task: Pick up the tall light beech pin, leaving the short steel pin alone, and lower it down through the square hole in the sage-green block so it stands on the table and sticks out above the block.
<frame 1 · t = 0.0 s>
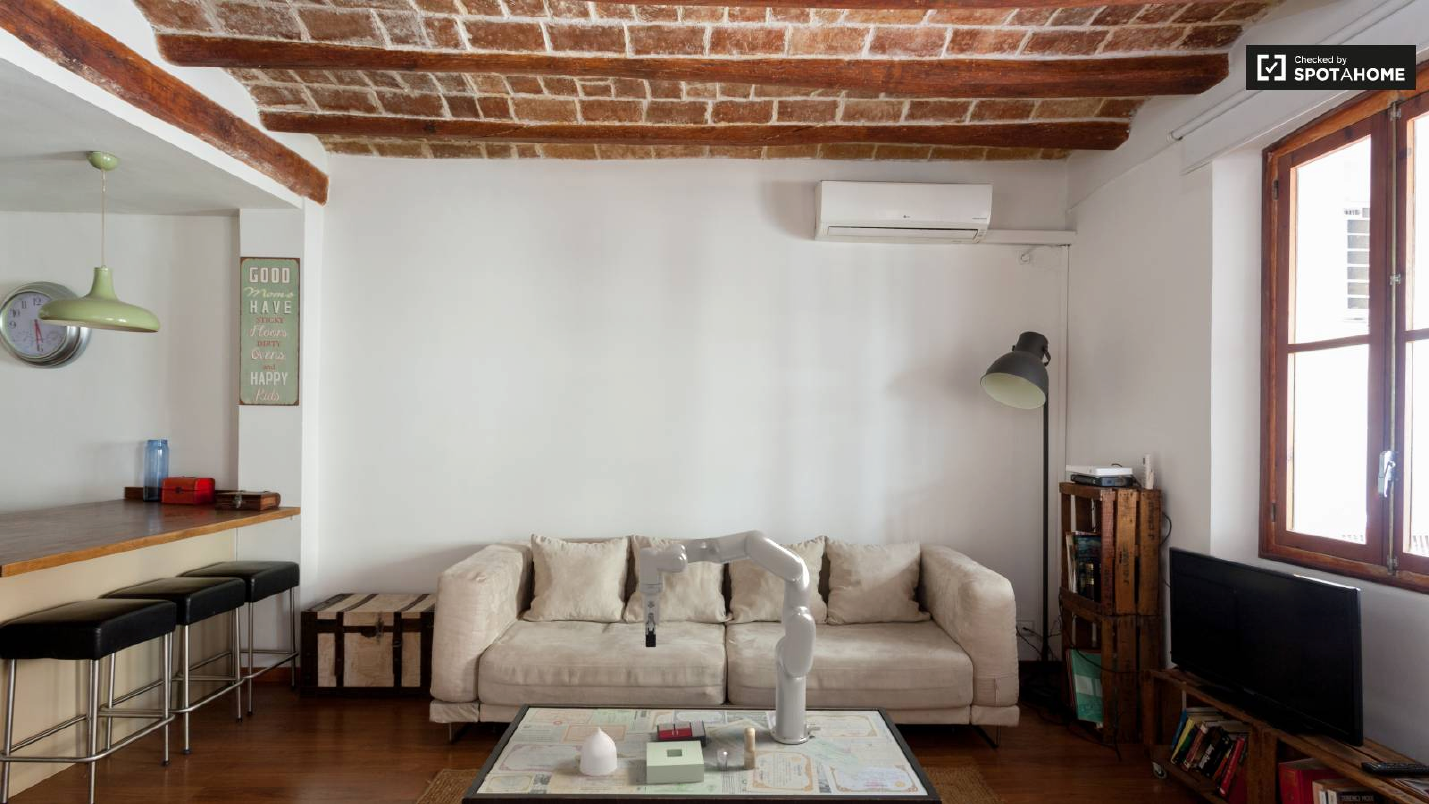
hand: (650, 641, 230), 31 cm above the table, tool pointing down, fingers open, 9 cm apart
short pin: (722, 768, 213), on the table
calculator: (681, 741, 231), on the table
long pin: (749, 767, 214), on the table
teardrop: (598, 767, 214), on the table
peg block: (674, 770, 212), on the table
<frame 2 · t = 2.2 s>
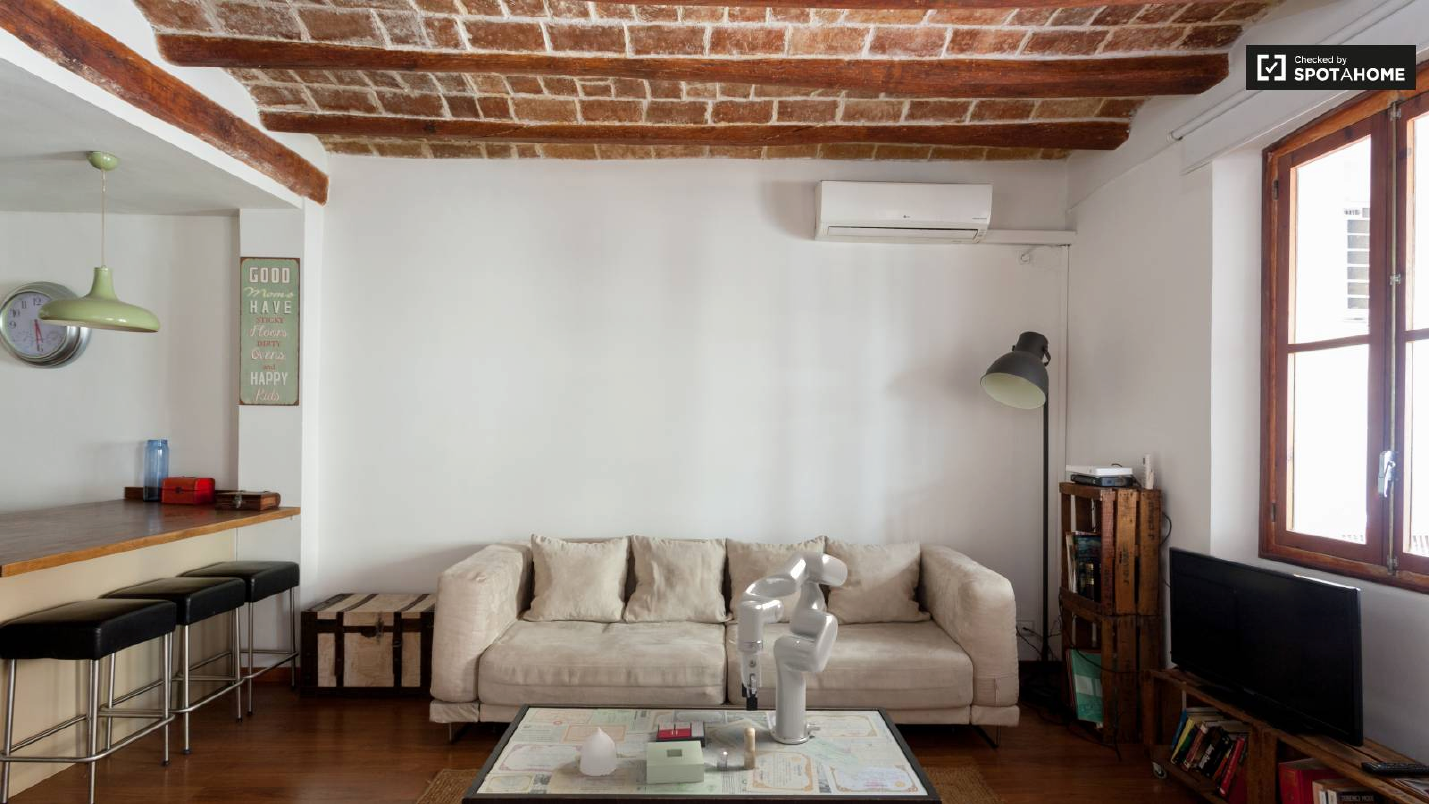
hand: (749, 703, 214), 19 cm above the table, tool pointing down, fingers open, 9 cm apart
nothing on the table moved.
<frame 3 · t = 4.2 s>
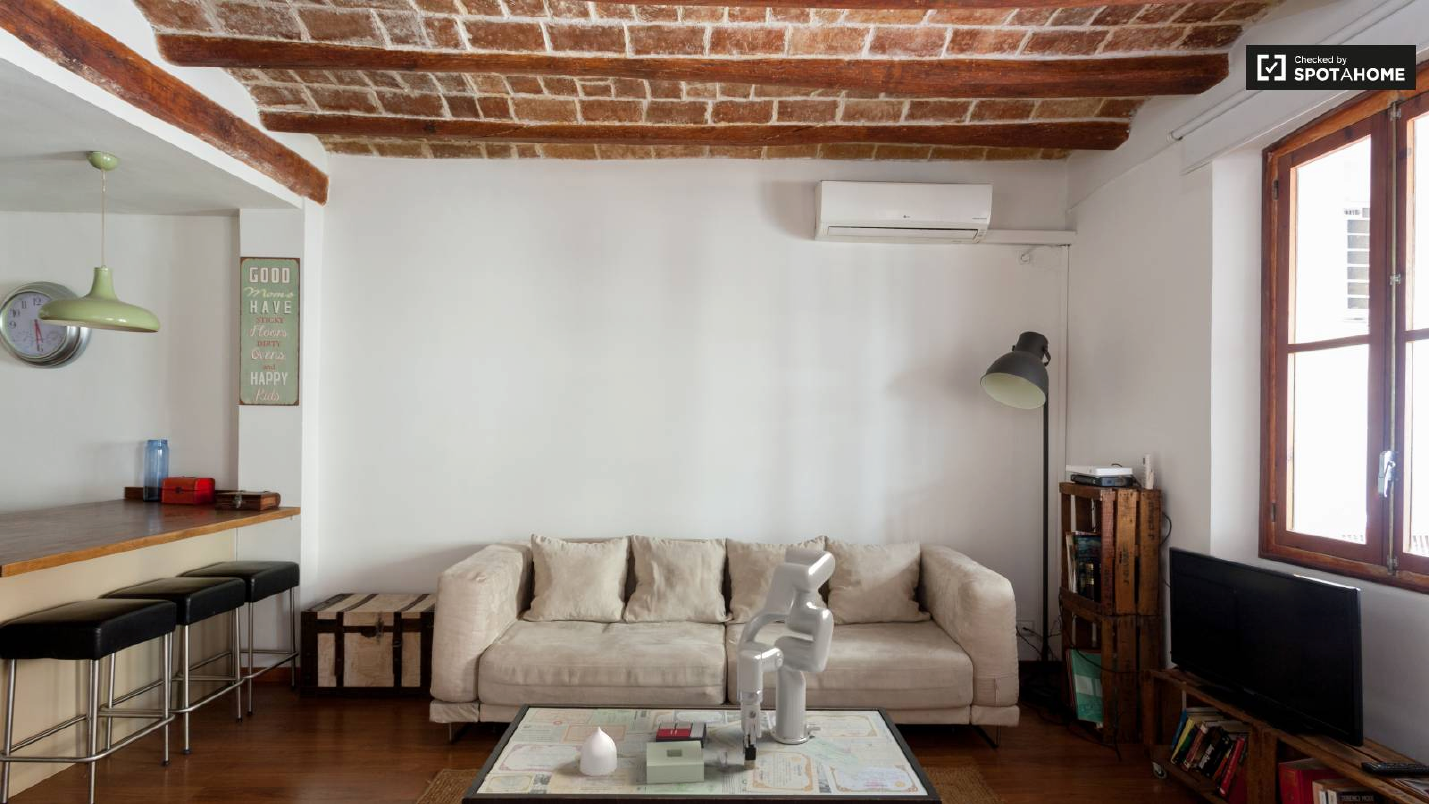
hand: (749, 756, 214), 3 cm above the table, tool pointing down, fingers closed on long pin, 3 cm apart
long pin: (749, 767, 214), on the table, touching gripper
everything else where it was.
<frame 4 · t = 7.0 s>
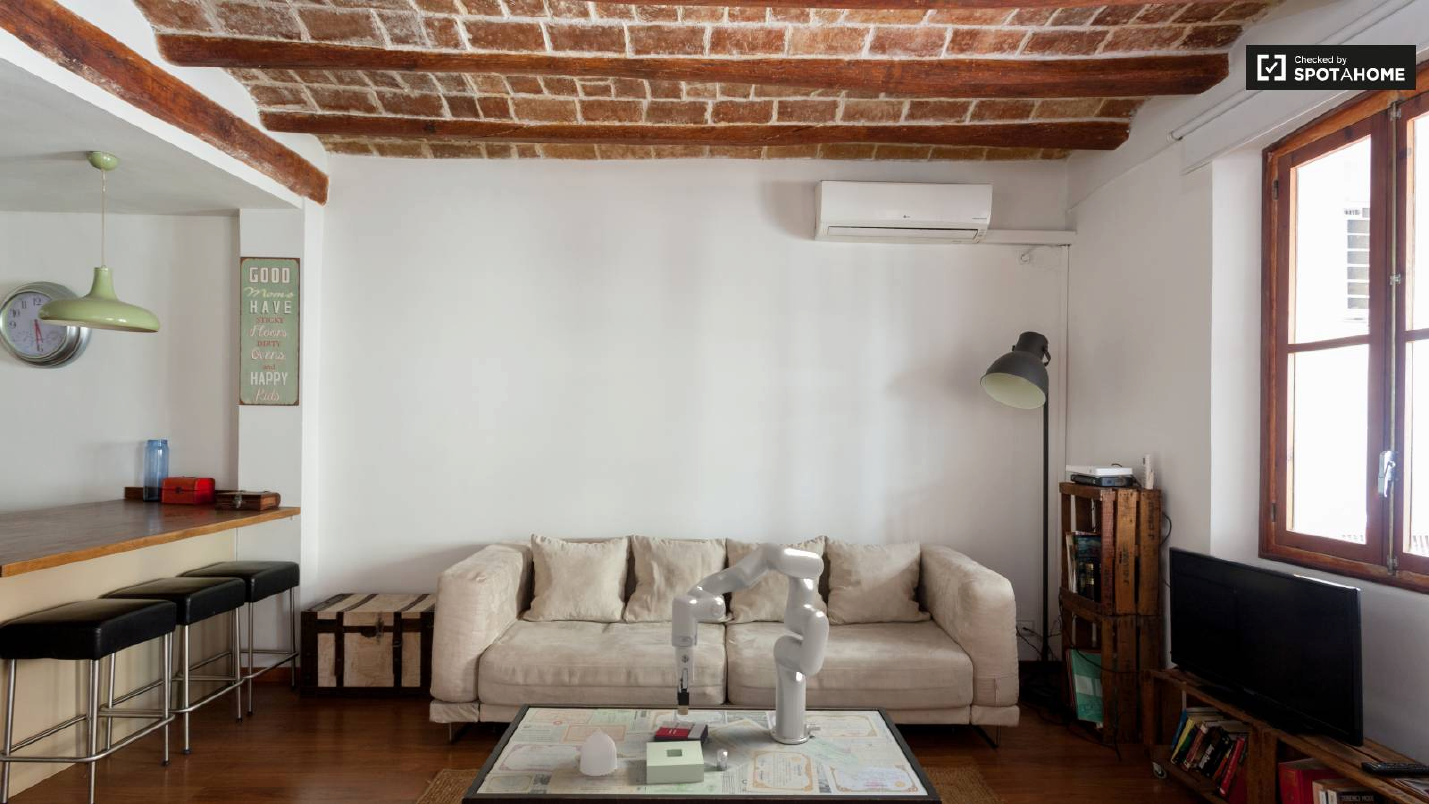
hand: (683, 702, 212), 20 cm above the table, tool pointing down, fingers closed on long pin, 3 cm apart
long pin: (682, 713, 212), point 17 cm above the table, touching gripper
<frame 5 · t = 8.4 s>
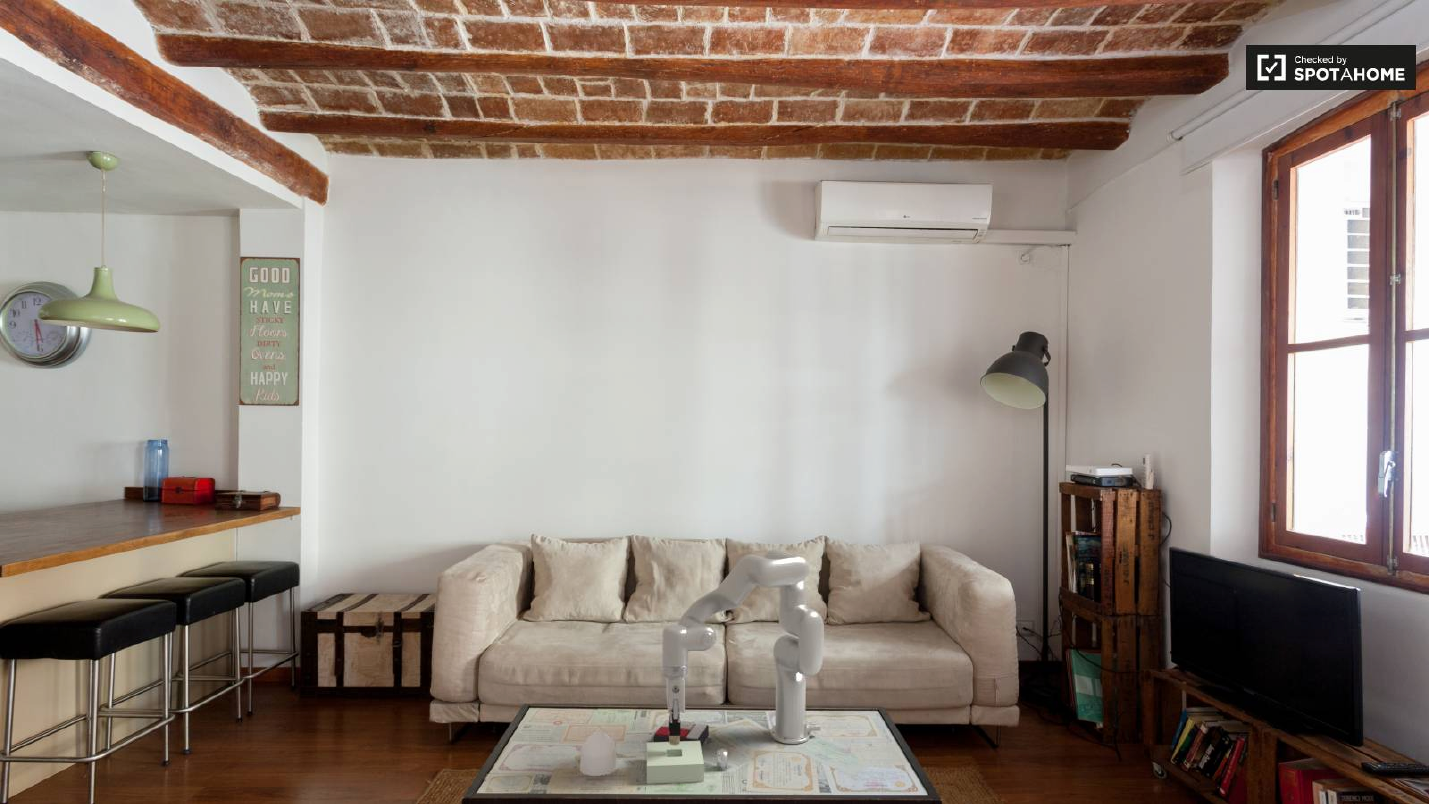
hand: (674, 732, 212), 11 cm above the table, tool pointing down, fingers closed on long pin, 3 cm apart
long pin: (674, 743, 212), point 8 cm above the table, touching gripper
when the fingers open (6 cm above the table, at t = 9.7 s): long pin drops 3 cm, resting in peg block.
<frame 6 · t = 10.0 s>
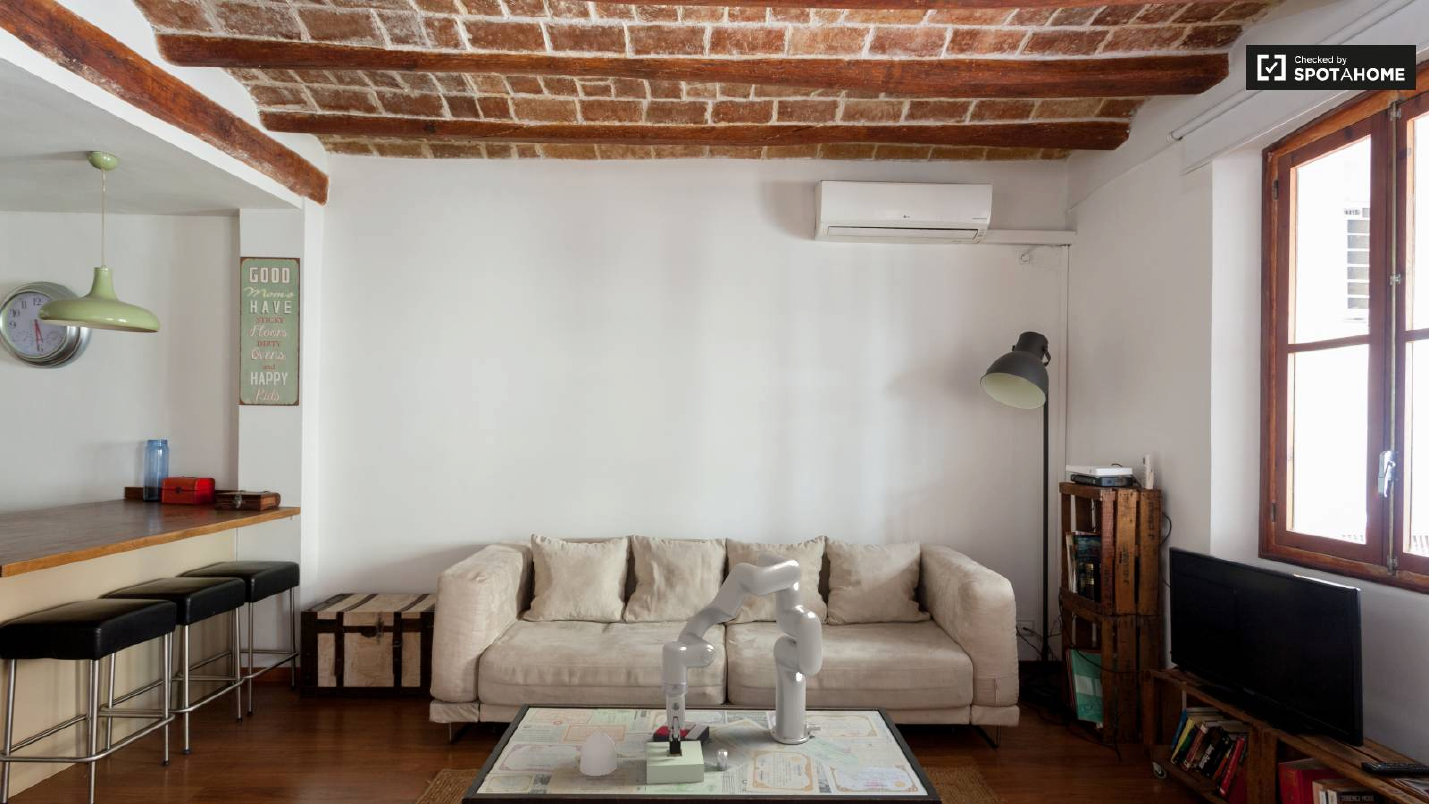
hand: (674, 747, 212), 7 cm above the table, tool pointing down, fingers open, 6 cm apart
long pin: (674, 769, 212), resting in peg block
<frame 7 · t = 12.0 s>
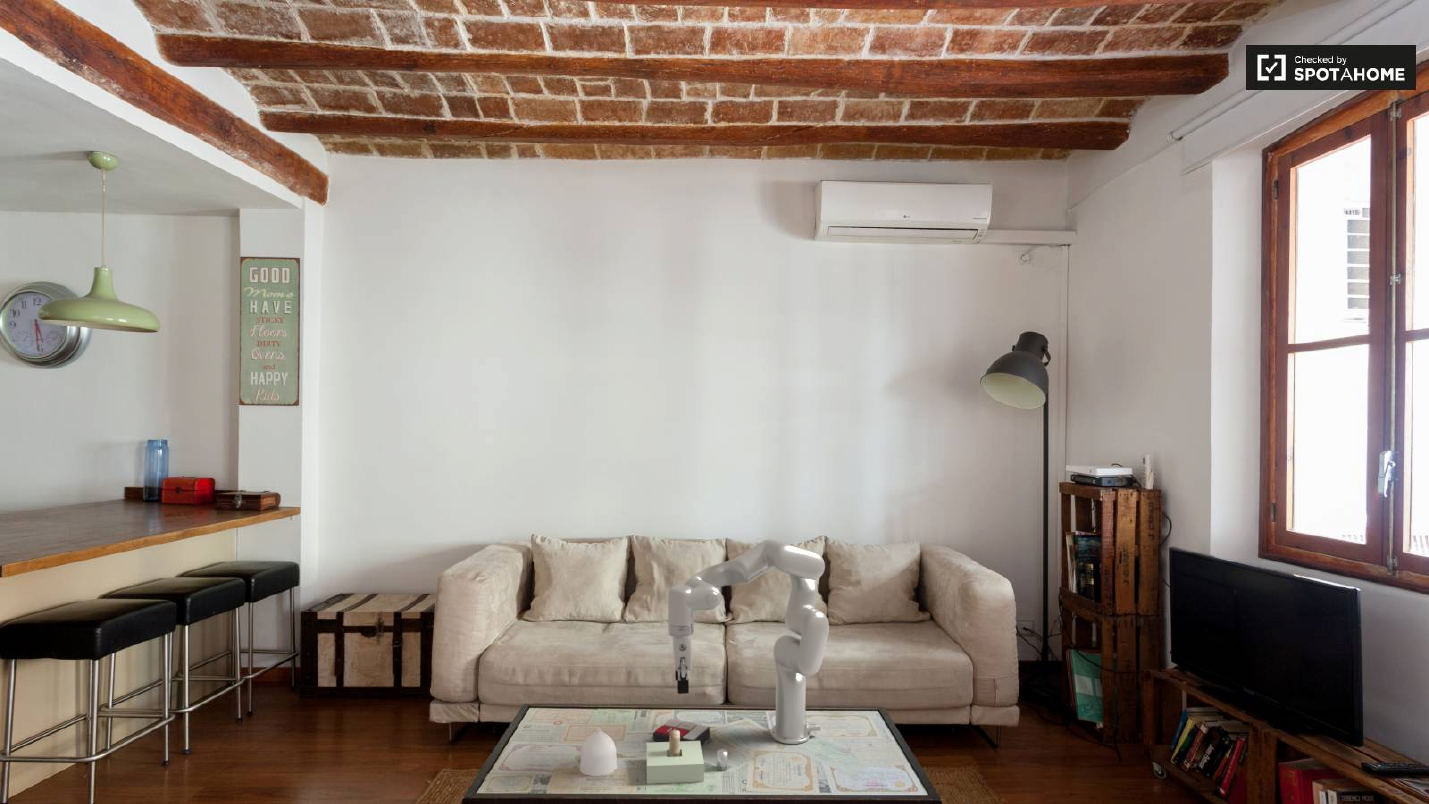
hand: (681, 686, 215), 23 cm above the table, tool pointing down, fingers open, 9 cm apart
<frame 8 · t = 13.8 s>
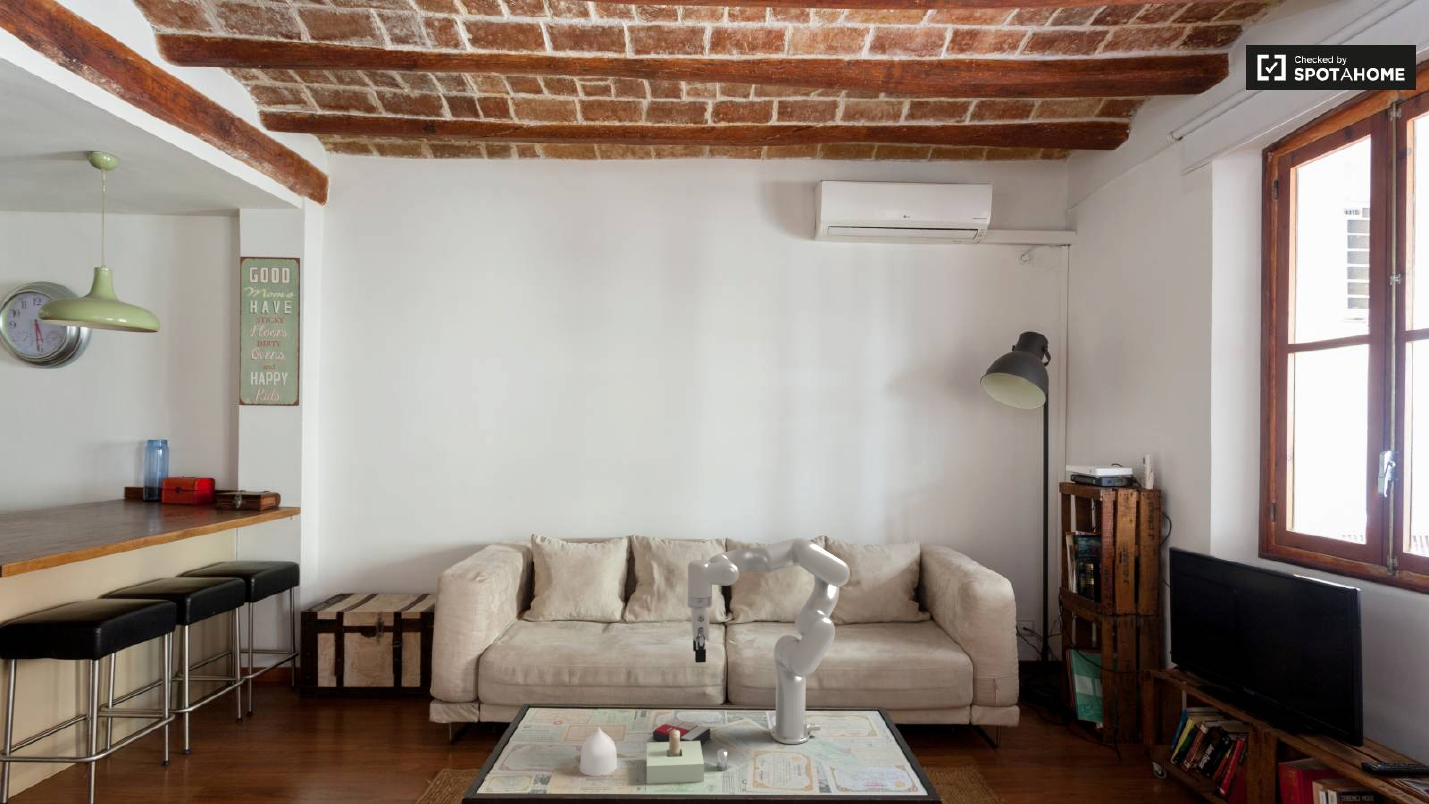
hand: (699, 656, 226), 28 cm above the table, tool pointing down, fingers open, 9 cm apart
at the end: long pin 0.1 cm off-centre on the peg block, point 0.0 cm above the peg block's base; long pin tilted 0°; short pin moved 0.0 cm from its start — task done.
